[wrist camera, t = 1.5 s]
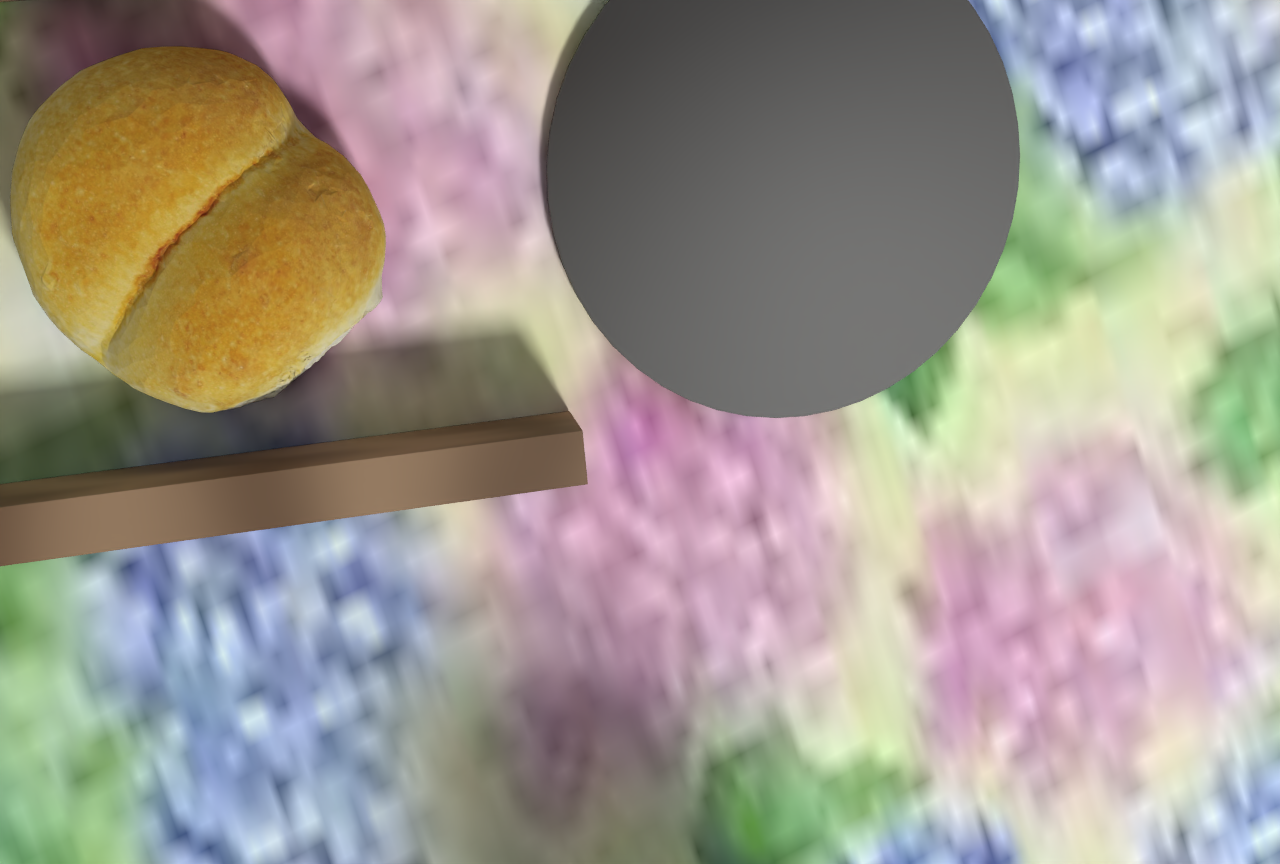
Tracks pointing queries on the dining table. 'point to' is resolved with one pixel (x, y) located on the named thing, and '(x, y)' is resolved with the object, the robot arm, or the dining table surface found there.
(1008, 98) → the mat
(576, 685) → the dining table surface
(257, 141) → the bread roll
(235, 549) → the dining table surface
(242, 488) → the chute
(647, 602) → the dining table surface
